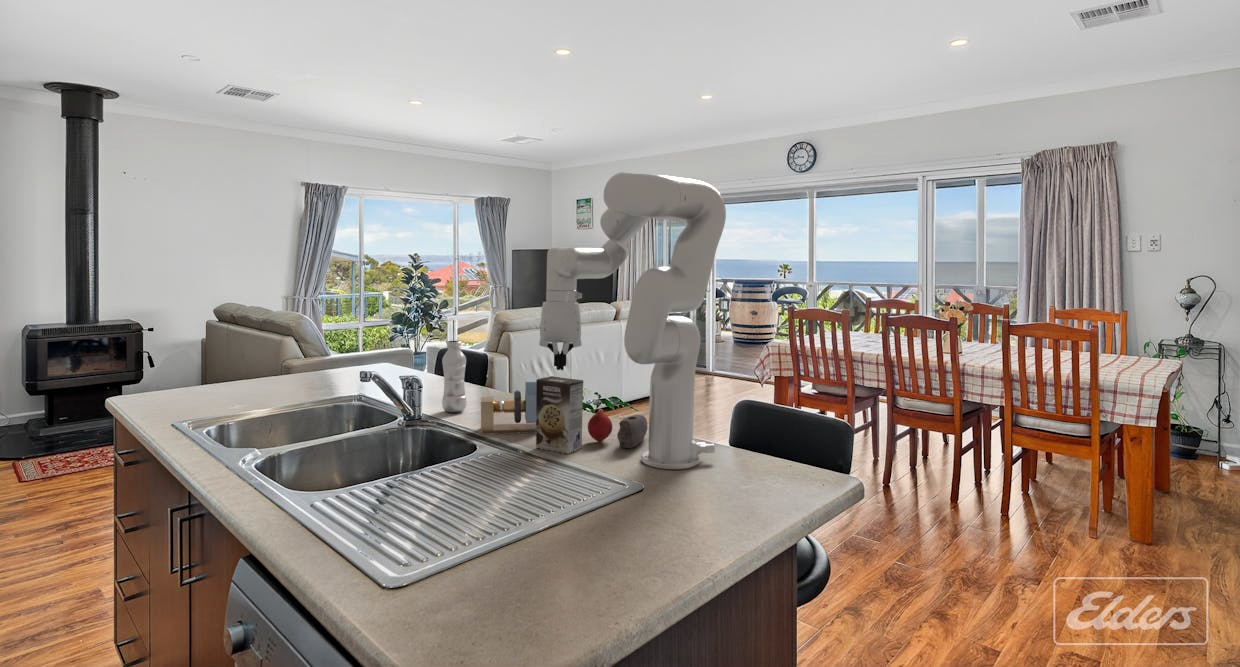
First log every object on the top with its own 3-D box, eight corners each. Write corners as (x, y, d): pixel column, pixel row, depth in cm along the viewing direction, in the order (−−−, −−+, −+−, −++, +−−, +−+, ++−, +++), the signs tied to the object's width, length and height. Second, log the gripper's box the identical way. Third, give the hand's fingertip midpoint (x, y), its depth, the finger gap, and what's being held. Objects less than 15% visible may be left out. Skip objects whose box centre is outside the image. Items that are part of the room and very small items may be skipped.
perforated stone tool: (634, 435, 168) (635, 407, 168) (654, 437, 166) (655, 409, 166) (612, 450, 154) (612, 420, 154) (633, 453, 153) (634, 423, 152)
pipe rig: (548, 425, 176) (548, 395, 175) (550, 431, 170) (550, 400, 169) (481, 427, 173) (481, 397, 172) (481, 433, 167) (480, 402, 166)
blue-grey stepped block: (540, 416, 176) (540, 378, 174) (542, 422, 169) (542, 383, 168) (525, 416, 175) (525, 378, 174) (526, 423, 168) (526, 383, 167)
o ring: (520, 417, 175) (520, 388, 174) (521, 425, 167) (521, 394, 167) (514, 418, 175) (514, 388, 174) (514, 425, 167) (514, 394, 166)
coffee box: (534, 448, 155) (534, 379, 153) (550, 442, 160) (550, 375, 158) (568, 454, 150) (569, 383, 149) (583, 447, 156) (584, 379, 154)
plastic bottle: (440, 410, 191) (439, 340, 189) (464, 408, 194) (463, 339, 192) (444, 415, 186) (443, 343, 183) (469, 413, 188) (468, 342, 186)
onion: (601, 447, 157) (601, 413, 156) (582, 442, 160) (582, 409, 159) (616, 441, 162) (617, 409, 161) (598, 437, 165) (598, 405, 164)
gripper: (588, 296, 175) (587, 366, 177) (530, 295, 172) (529, 366, 174) (592, 299, 167) (590, 371, 170) (532, 297, 165) (530, 372, 167)
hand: (559, 369), depth 172 cm, fingers closed
